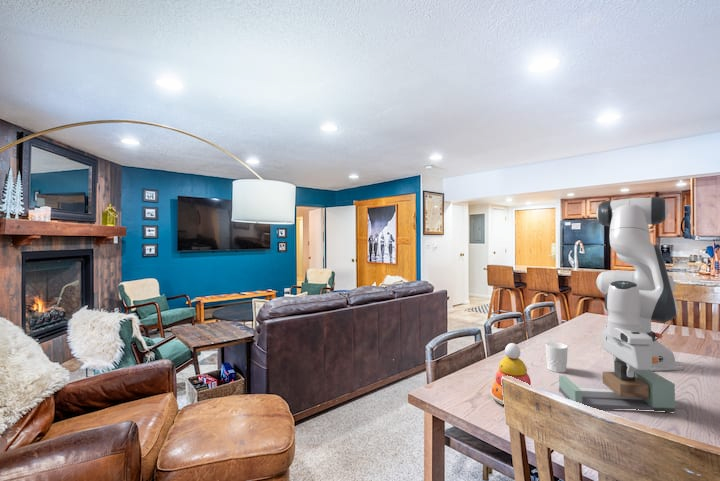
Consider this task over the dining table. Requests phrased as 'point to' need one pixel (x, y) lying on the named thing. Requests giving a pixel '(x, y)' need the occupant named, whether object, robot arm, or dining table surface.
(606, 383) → the carriage
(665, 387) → the rail base
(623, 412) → the dining table surface
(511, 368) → the stacking toy
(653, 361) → the gauge button
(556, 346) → the white cup
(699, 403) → the dining table surface
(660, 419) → the dining table surface
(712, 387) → the dining table surface
